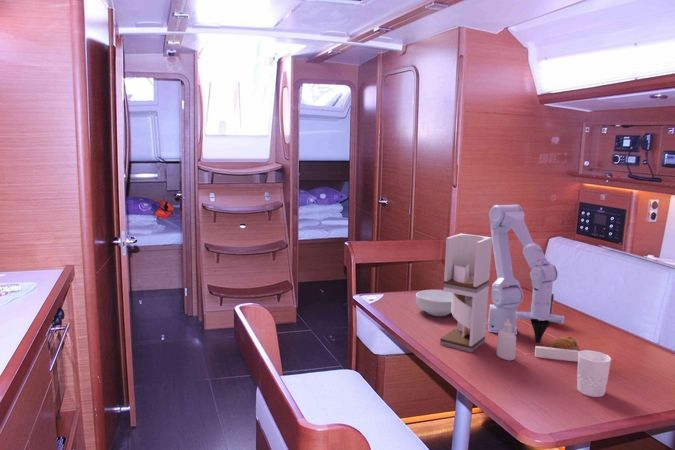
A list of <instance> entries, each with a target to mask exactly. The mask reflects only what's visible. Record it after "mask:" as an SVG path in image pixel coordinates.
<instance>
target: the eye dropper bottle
mask: <svg viewBox="0 0 675 450" xmlns="http://www.w3.org/2000/svg"><path fill="white" fill-rule="evenodd" d="M511 331H512V324H510V320H507V322H506V323H504V329H503V330H501V331H499V333H497V344H496V356H497V357H499V358H501V359H502V360H506V361H513V360H515V358H516V348H517V347H516V346H517V335H515V334H514V333H513V332H511Z"/></svg>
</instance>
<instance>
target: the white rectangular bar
mask: <svg viewBox="0 0 675 450" xmlns="http://www.w3.org/2000/svg"><path fill="white" fill-rule="evenodd" d="M534 348H535V349H534V357H535V358H542V359H550V360H559V361H568V362H576V363H578V353H579V352H580V351H581V350H568V349H559V348H552V347H548V346H540V345H535V347H534Z"/></svg>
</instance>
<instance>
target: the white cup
mask: <svg viewBox="0 0 675 450" xmlns="http://www.w3.org/2000/svg"><path fill="white" fill-rule="evenodd" d="M579 351H580V352H579V353H578V362H577V368H576V369H577V372H576V375H577V376H576V380H577V383H576V384H577V385H576V389H577V391H578V392H579V393H580V394H582V395H585V396H588V397H591V398H592V397H593V398H600V397H601V398H602V397H603V396H605V394H606V389H607V384H608V380H609V374H610V369H611V368H610V367H611V362H612V358H611V357H610V355H608V354H605V353H603V352H601V351H597V350H596V351H595V350H587V349H585V350H579Z"/></svg>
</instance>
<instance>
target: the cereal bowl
mask: <svg viewBox="0 0 675 450" xmlns="http://www.w3.org/2000/svg"><path fill="white" fill-rule="evenodd" d="M415 301H416V304H417V306H418V308H419V309H421V310H422V311H424V312H426V314H428V315H430V316H434V317H446V316H447V315H449V314H452V312H451V305H452V293H450V292H445V291H443V290H441V289H426V290H421V291H418V292H416V293H415Z"/></svg>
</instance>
